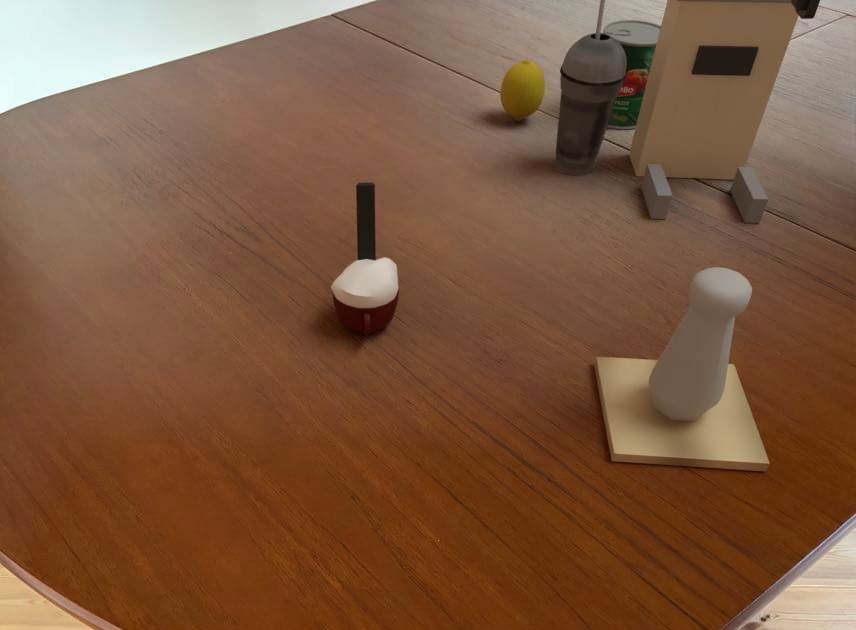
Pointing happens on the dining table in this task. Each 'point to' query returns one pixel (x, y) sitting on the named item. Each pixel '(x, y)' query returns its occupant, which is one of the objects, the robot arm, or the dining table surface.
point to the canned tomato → (632, 68)
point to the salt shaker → (700, 346)
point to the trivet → (675, 422)
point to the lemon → (522, 89)
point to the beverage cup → (587, 98)
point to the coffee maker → (709, 97)
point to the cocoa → (366, 275)
